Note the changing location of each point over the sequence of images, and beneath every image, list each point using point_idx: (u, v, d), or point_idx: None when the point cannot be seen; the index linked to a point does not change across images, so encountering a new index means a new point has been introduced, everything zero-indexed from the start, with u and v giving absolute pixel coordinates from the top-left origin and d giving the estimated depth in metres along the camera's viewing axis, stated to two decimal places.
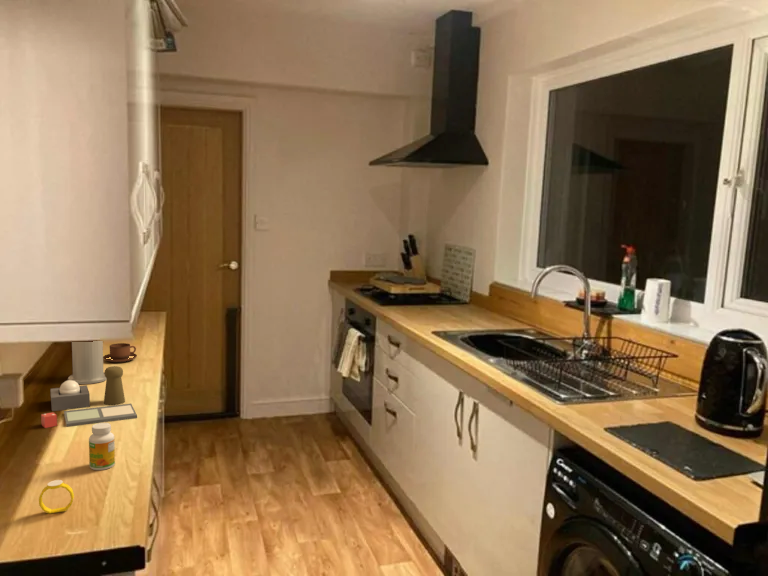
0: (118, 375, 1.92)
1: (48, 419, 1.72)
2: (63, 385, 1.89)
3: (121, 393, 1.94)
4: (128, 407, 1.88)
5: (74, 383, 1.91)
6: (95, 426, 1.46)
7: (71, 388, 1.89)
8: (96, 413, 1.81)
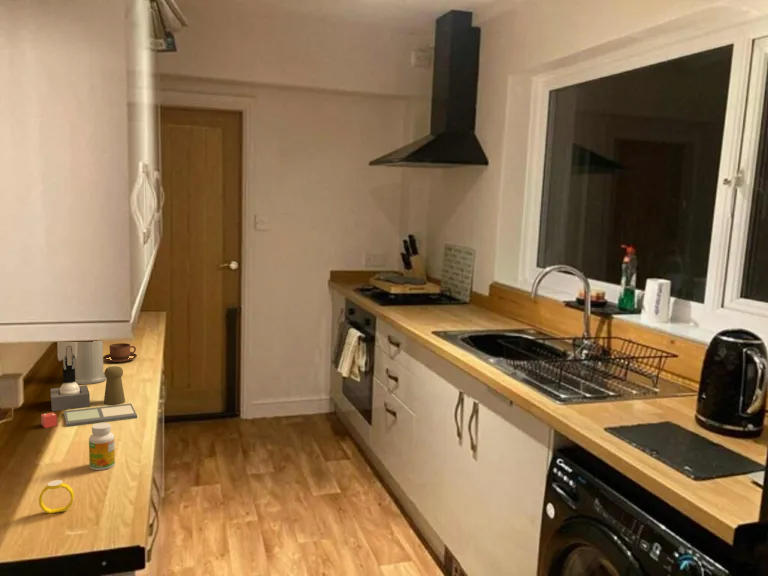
0: (118, 375, 1.92)
1: (48, 419, 1.72)
2: (63, 386, 1.89)
3: (121, 393, 1.94)
4: (128, 407, 1.88)
5: (74, 384, 1.91)
6: (95, 426, 1.46)
7: (71, 389, 1.89)
8: (96, 413, 1.81)
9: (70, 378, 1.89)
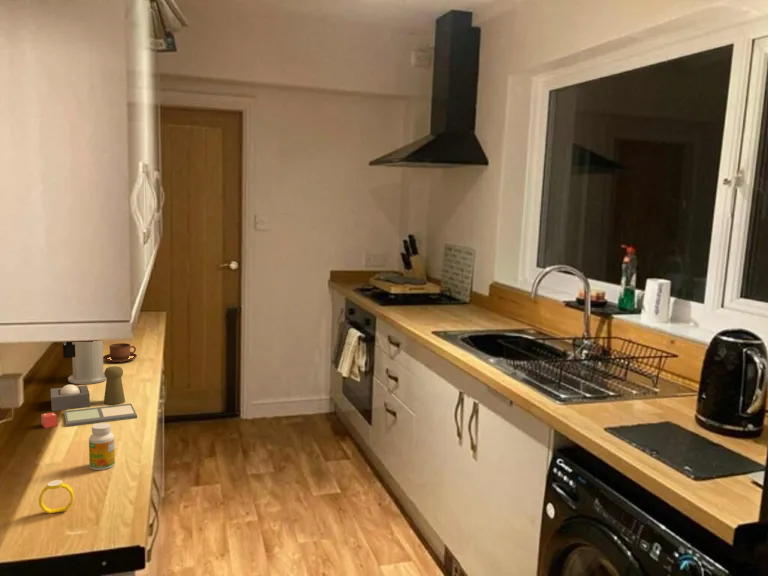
0: (118, 375, 1.92)
1: (48, 419, 1.72)
2: (63, 389, 1.89)
3: (121, 393, 1.94)
4: (128, 407, 1.88)
5: (74, 387, 1.91)
6: (95, 426, 1.46)
7: (71, 392, 1.89)
8: (96, 413, 1.81)
9: (70, 353, 1.90)
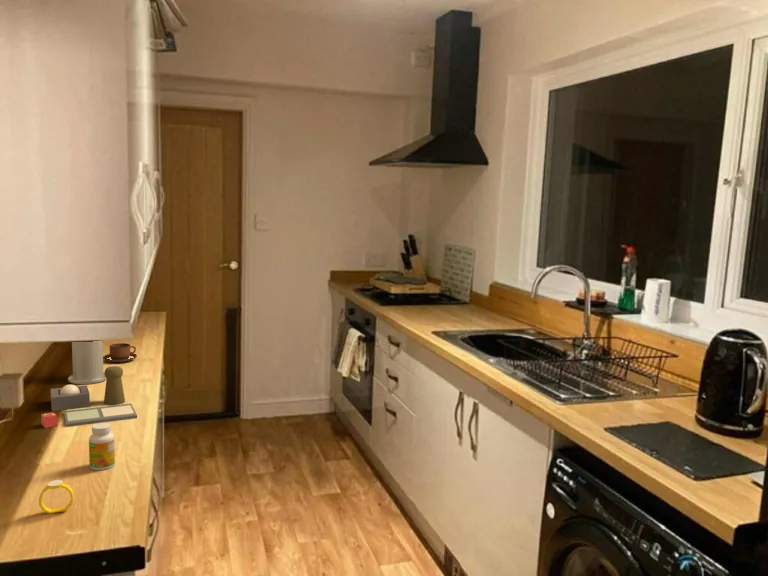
0: (118, 375, 1.92)
1: (48, 419, 1.72)
2: (63, 389, 1.89)
3: (121, 393, 1.94)
4: (128, 407, 1.88)
5: (74, 387, 1.91)
6: (95, 426, 1.46)
7: (71, 392, 1.89)
8: (96, 413, 1.81)
9: None
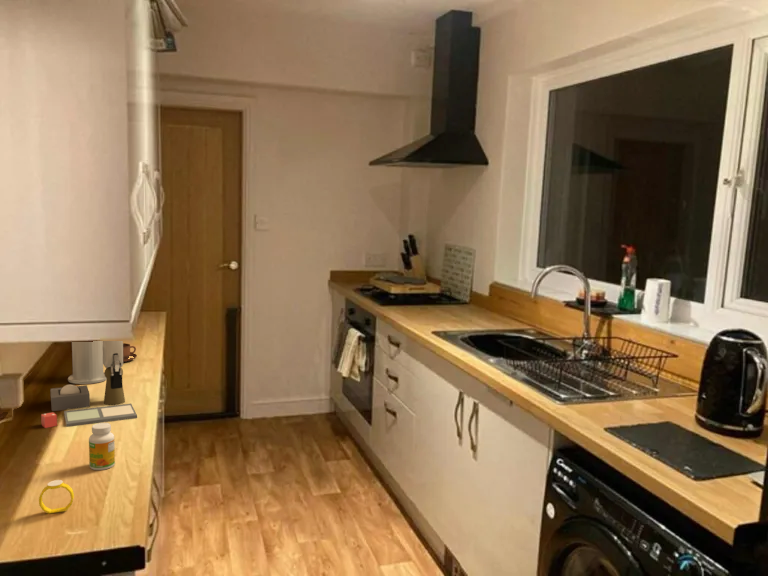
0: None
1: (48, 419, 1.72)
2: (63, 389, 1.89)
3: (121, 393, 1.94)
4: (128, 407, 1.88)
5: (74, 387, 1.91)
6: (95, 426, 1.46)
7: (71, 392, 1.89)
8: (96, 413, 1.81)
9: (117, 384, 1.89)
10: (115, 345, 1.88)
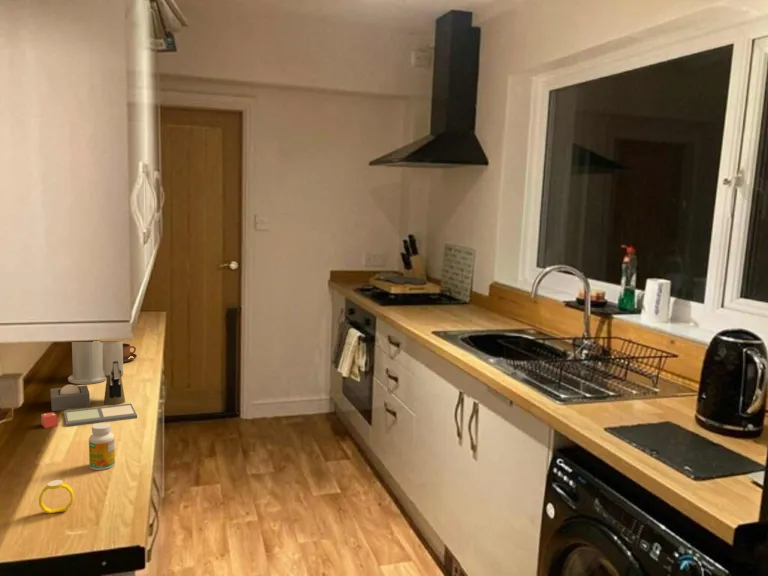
0: None
1: (48, 419, 1.72)
2: (63, 389, 1.89)
3: (121, 393, 1.94)
4: (128, 407, 1.88)
5: (74, 387, 1.91)
6: (95, 426, 1.46)
7: (71, 392, 1.89)
8: (96, 413, 1.81)
9: (116, 393, 1.92)
10: (115, 353, 1.89)
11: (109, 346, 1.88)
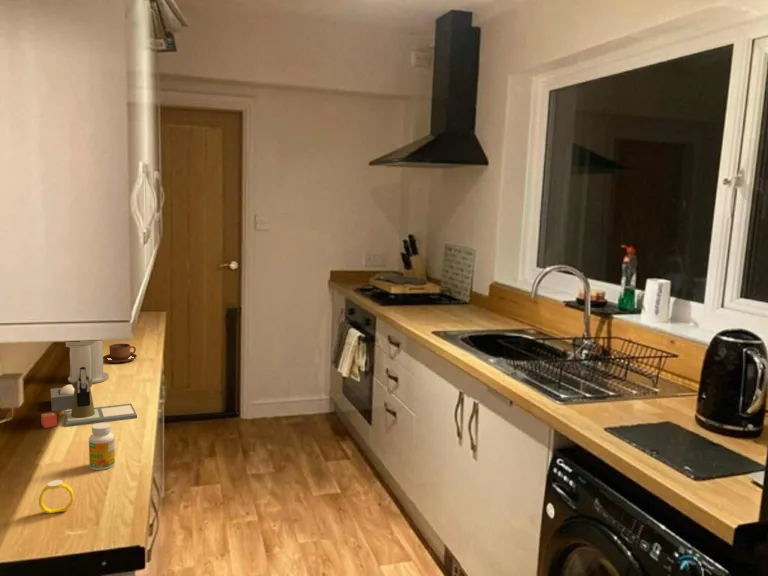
0: None
1: (48, 419, 1.72)
2: (63, 389, 1.89)
3: (90, 405, 1.79)
4: (128, 407, 1.88)
5: None
6: (95, 426, 1.46)
7: (71, 392, 1.89)
8: (96, 413, 1.81)
9: (84, 402, 1.75)
10: (82, 358, 1.74)
11: (75, 350, 1.73)
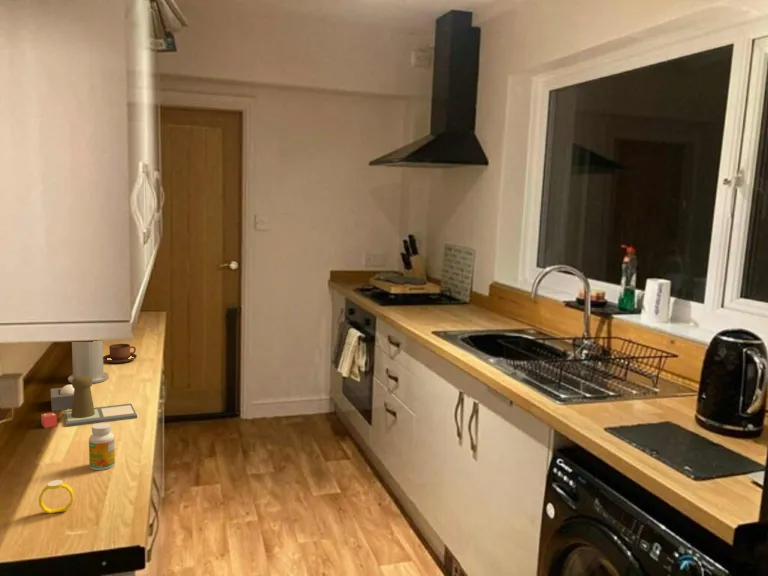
0: (87, 386, 1.78)
1: (48, 419, 1.72)
2: (63, 389, 1.89)
3: (90, 405, 1.79)
4: (128, 407, 1.88)
5: None
6: (95, 426, 1.46)
7: (71, 392, 1.89)
8: (96, 413, 1.81)
9: None
10: None
11: None
